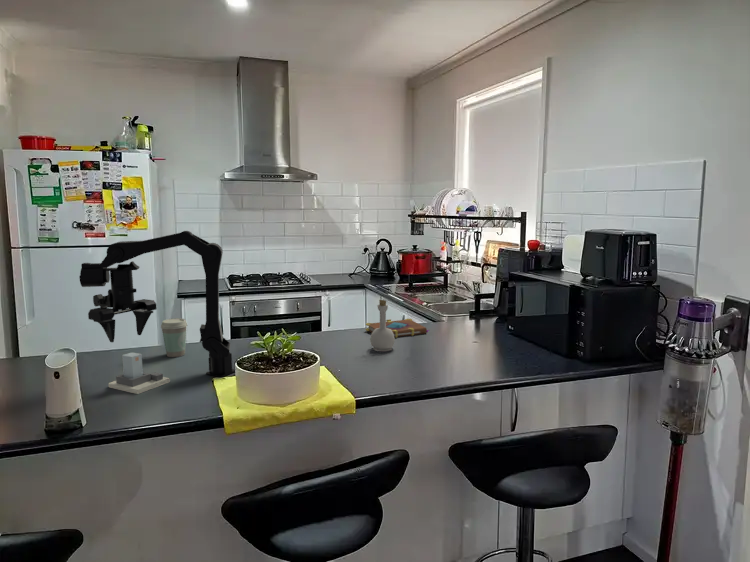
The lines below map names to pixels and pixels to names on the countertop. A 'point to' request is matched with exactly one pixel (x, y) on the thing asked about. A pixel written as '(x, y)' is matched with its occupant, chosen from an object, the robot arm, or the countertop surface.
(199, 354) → the countertop surface
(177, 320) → the coffee cup
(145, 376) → the board
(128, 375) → the plug
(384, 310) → the potion bottle
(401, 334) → the book
